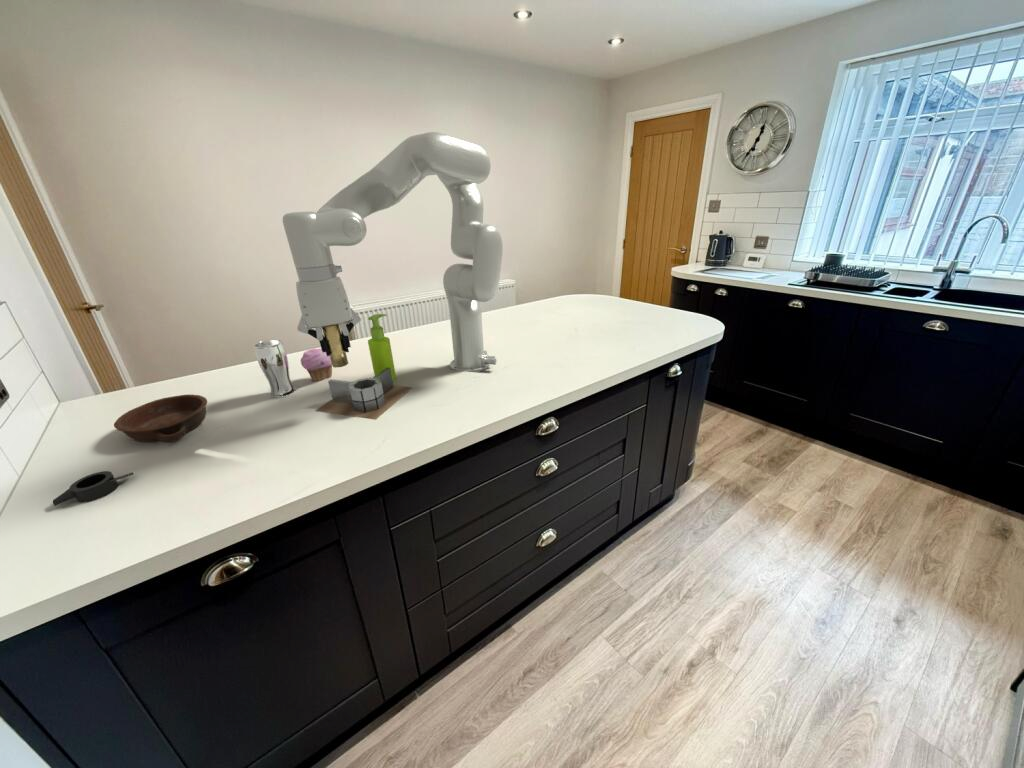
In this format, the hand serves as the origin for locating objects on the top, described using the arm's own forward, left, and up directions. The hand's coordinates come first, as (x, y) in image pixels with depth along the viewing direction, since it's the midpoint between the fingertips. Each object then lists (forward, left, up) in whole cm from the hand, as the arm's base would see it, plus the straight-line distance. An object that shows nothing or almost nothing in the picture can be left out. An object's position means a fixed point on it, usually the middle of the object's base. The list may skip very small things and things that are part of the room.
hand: (337, 351), depth 93 cm
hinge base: (-1, -6, -16) cm, 17 cm away
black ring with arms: (+28, +38, -17) cm, 51 cm away
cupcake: (+21, -15, -17) cm, 31 cm away
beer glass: (+26, -5, -17) cm, 32 cm away
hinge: (0, -6, -15) cm, 17 cm away
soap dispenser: (+1, -19, -17) cm, 25 cm away
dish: (+39, +17, -17) cm, 46 cm away
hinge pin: (0, 0, -3) cm, 3 cm away
